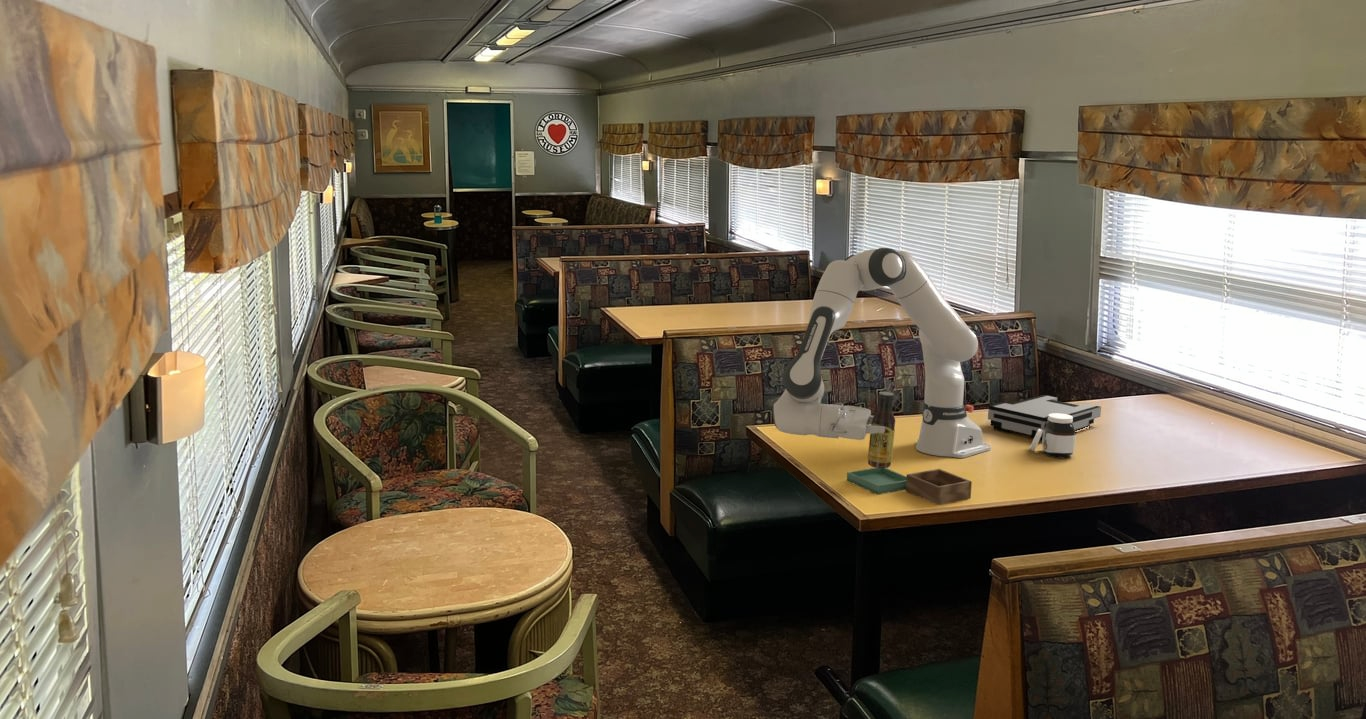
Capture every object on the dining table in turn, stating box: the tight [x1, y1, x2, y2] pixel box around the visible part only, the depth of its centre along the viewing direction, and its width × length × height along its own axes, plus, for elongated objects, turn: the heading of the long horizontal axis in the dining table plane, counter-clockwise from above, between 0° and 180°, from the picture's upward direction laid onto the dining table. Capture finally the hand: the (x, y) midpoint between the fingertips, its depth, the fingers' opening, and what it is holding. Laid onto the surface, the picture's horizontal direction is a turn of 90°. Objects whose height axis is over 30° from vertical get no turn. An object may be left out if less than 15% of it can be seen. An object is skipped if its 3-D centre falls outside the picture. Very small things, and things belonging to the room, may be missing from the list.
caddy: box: [905, 468, 973, 506], centre depth 277 cm, size 11×12×4 cm
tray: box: [846, 467, 907, 495], centre depth 285 cm, size 12×13×2 cm
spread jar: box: [1029, 413, 1076, 458], centre depth 315 cm, size 12×11×12 cm
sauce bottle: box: [867, 391, 896, 469], centre depth 282 cm, size 6×6×20 cm
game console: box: [987, 394, 1102, 441], centre depth 344 cm, size 21×32×8 cm, turn 131°
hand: (885, 425), depth 282 cm, fingers closed on sauce bottle, 6 cm apart
